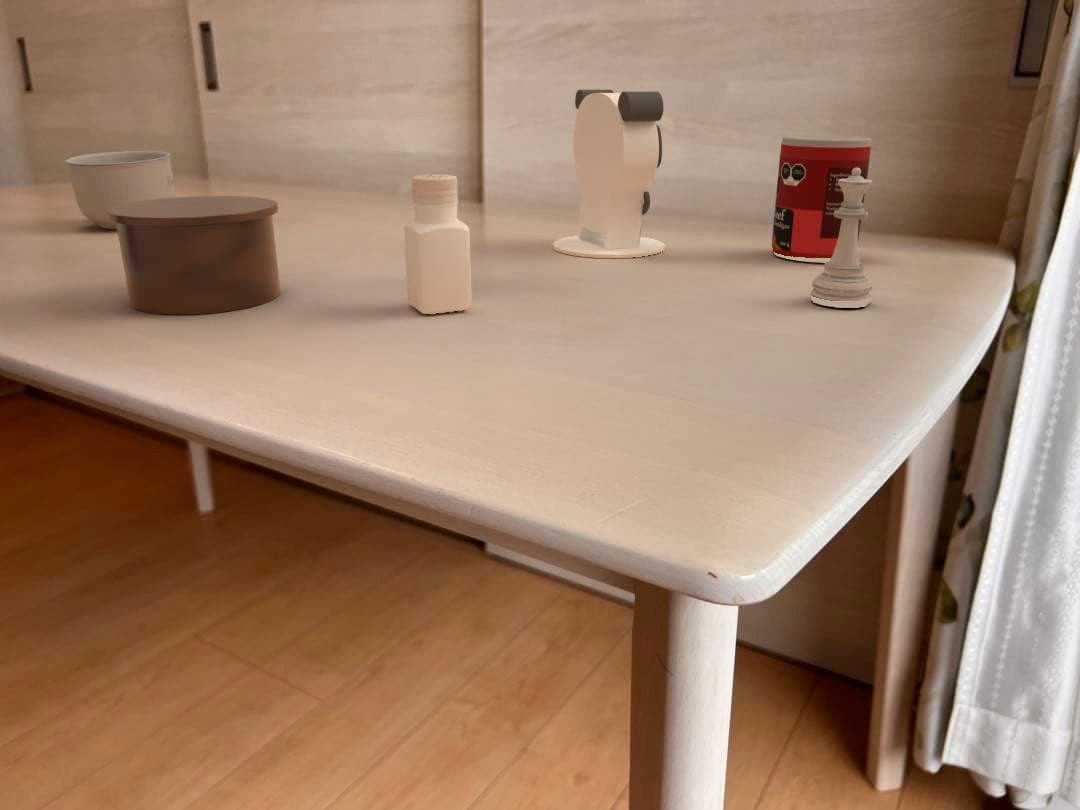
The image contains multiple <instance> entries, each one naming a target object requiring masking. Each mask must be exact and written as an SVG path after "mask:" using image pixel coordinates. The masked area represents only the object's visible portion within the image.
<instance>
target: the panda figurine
mask: <svg viewBox="0 0 1080 810" xmlns="http://www.w3.org/2000/svg"><path fill="white" fill-rule="evenodd" d="M574 105H575V109H576V110H577V111H576V118H575V123H574V129H573V141H572V146H573V147H572V148H573V160H574V161H573V162H574V167H575V171H576V175H577V177H578V180H579V212H578V235H573V236H567V237H562V238H558V239H556V240H554V241H553V242H552V248H553V250H554V251H556V252H558V253H561V254H565V255H569V256H573V257H574V256H575V257H583V258H593V259H633V257H635V258H643V257H642V256H645V257H649V256H648V255H651V256H654V255H653V254H656V255H658V254H657V253H659V254H661V253H663V252H665V251H666V244H665V243H664V242H662V241H660V240H658V239H654V238H649V237H644V236H641V231H642V216H644V215H646V214H647V213H648V211H649V209H650V205H651V196H650V192H649V191H647V190H648V189H649V187H650V185H651V184H652V182H653V179H654V177H655V174H656V172H657V169H658V168H660V166H661V163H662V157H663V140H662V139H663V138H662V132H661V127H660V126H659V125H658V124H657V122H659V121H661V119H662V117H663V114H664V100H663V95H662V94H661V93H660V92H659V91H622V92H614V90H613V89H578V90H577V91H576V92H575V98H574ZM662 251H663V252H662ZM660 252H661V253H660Z"/></svg>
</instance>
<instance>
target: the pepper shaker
mask: <svg viewBox="0 0 1080 810" xmlns="http://www.w3.org/2000/svg"><path fill="white" fill-rule="evenodd" d="M411 181H412V183H411V184H412V205H413V207H414V220H413V221H411V222H408V223H406V224H405V225H404V228H403V231H404V249H405V250H404V251H405V267H406V269H405V270H406V286H407V287H406V288H407V300H408V302H409V304H410V305H411V306H412V307H413V308H415V309H416V310H417V311H418V312H420V313H421V314H424V315H426V314H430V315H437V314H436V313H439V314H447V313H446V312H449V313H455V312H454V311H458V312H464V311H463V310H465V311H467V310H469V309H471V306H472V274H471V273H472V270H471V240H470V239H471V235H470V233H471V232H470V227H469V226H468V225H467V224H466V223H464V222H463V221H462V220H460V219H458V205H459V199H458V198H459V196H458V178H457V176H456V175H452V174H419V175H413V176H412V177H411Z"/></svg>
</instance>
